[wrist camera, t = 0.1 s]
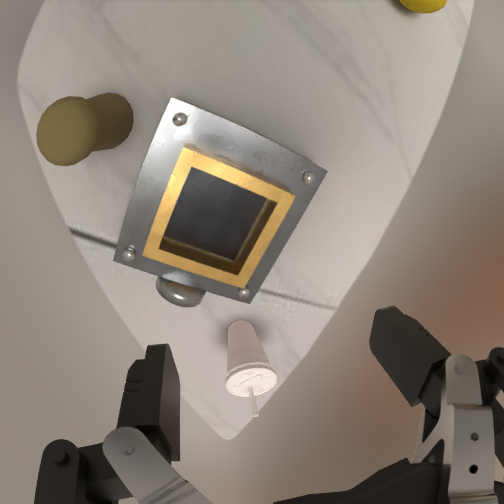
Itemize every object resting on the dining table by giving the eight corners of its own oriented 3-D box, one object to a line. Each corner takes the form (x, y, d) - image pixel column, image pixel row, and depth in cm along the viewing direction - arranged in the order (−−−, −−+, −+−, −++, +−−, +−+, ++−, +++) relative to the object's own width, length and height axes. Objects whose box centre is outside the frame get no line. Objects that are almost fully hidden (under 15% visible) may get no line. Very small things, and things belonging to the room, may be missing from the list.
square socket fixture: (175, 98, 24) (168, 96, 19) (312, 162, 30) (338, 177, 24) (118, 254, 31) (104, 286, 25) (239, 293, 37) (247, 328, 31)
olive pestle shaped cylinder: (71, 117, 22) (13, 130, 13) (115, 81, 22) (70, 72, 12) (98, 160, 25) (51, 193, 16) (144, 127, 25) (112, 141, 15)
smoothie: (210, 338, 40) (220, 422, 28) (230, 307, 38) (247, 396, 26) (249, 348, 42) (267, 427, 30) (270, 319, 40) (297, 401, 28)
